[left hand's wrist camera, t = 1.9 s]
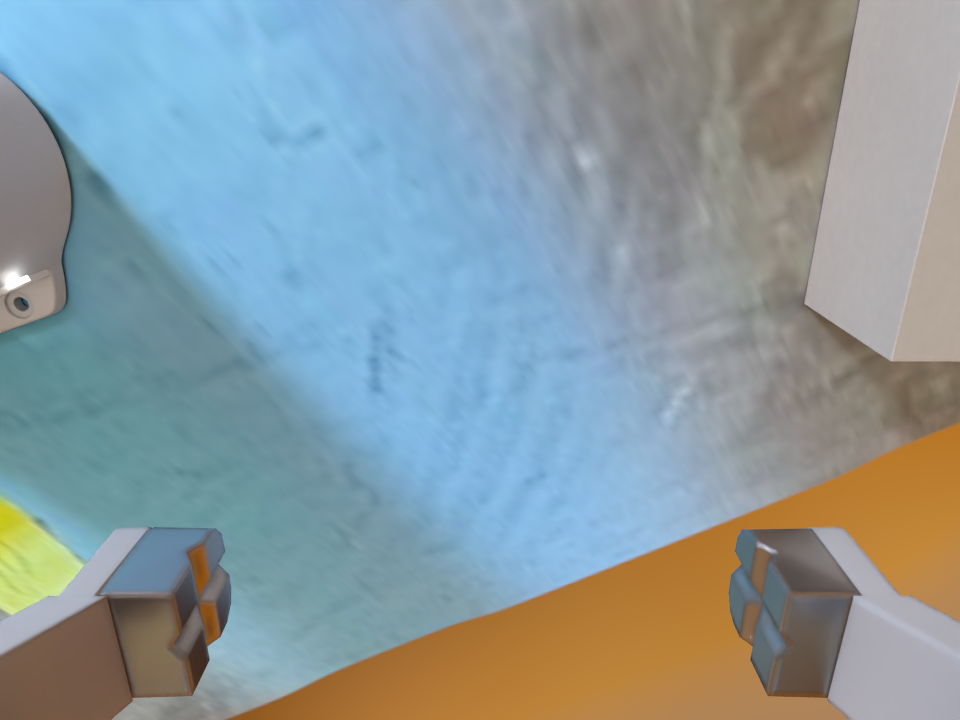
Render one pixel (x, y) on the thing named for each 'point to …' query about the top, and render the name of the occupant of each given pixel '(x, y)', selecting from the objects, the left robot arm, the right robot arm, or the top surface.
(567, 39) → the top surface
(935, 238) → the bar
